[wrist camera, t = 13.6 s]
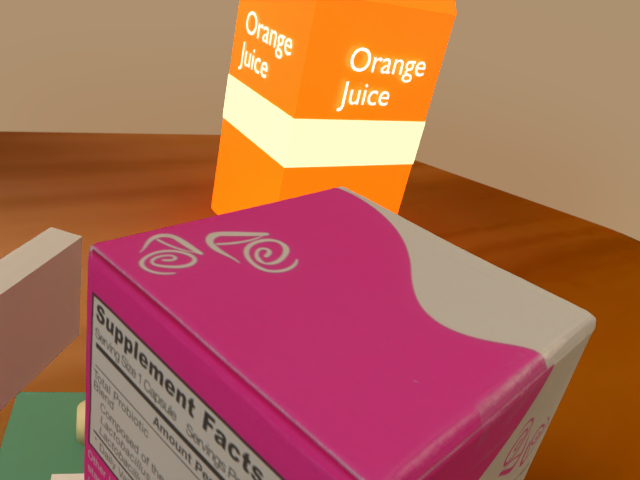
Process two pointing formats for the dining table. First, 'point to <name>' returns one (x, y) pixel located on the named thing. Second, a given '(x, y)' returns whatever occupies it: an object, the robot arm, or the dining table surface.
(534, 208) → the dining table surface
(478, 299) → the supplement box
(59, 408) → the socket board
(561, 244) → the dining table surface
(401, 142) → the orange juice
